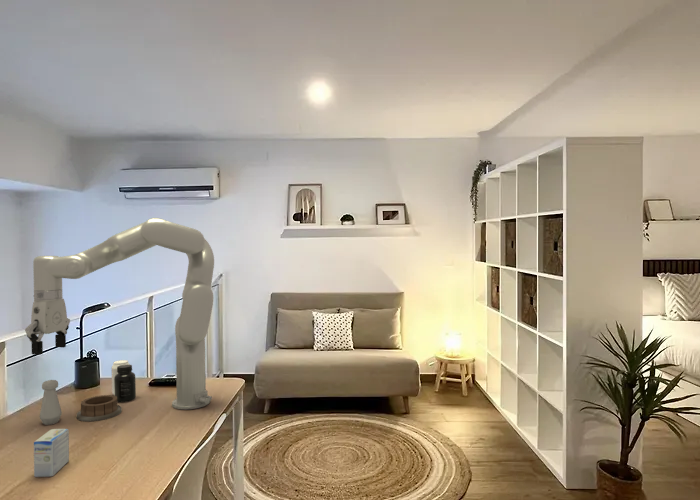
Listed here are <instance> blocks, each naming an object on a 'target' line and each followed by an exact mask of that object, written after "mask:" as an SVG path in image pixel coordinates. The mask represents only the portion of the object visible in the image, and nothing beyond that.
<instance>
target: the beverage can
mask: <svg viewBox="0 0 700 500" xmlns="http://www.w3.org/2000/svg"><path fill="white" fill-rule="evenodd" d="M121 365H131V364H130V362H129V360H127V359H121V360H120V359H119V360H116V361H114V362H113V363H112V366H111V393H112V394H111V395H113V396H115V389H114V377H115V375H116V374H118V372H117V367H118V366H121Z"/></svg>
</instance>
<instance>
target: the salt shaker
mask: <svg viewBox="0 0 700 500" xmlns="http://www.w3.org/2000/svg"><path fill="white" fill-rule="evenodd" d="M58 387H59V381H58V380H56V379H49V380H45V381H44V382H42V383H41V389H42V390H43V396H42V402H41V408H40V413H39V420H40V422H41V423H42V425H45V426H49V425H50V426H51V425H54V424H57V423H59V421H60V419H61V417H62V413H63V412H62V409H61V404H60V401H59V397H58V392H57V388H58Z"/></svg>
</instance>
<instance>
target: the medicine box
mask: <svg viewBox="0 0 700 500" xmlns="http://www.w3.org/2000/svg"><path fill="white" fill-rule="evenodd" d="M69 445H70V433H69V428H51V429H49V430H48V431H47V432H45V433H44V434H43V435H42V436H40V437H39V438H38V439H36V440H34V442H33V477H34V478H47V477H49V478H50V477H53V476H55V475H56V474H57V473H58V472H59V471H60V470H62V468H63V467H64V466H66V464H67V463H69V461H70V446H69Z"/></svg>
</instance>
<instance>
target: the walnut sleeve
mask: <svg viewBox="0 0 700 500" xmlns="http://www.w3.org/2000/svg"><path fill="white" fill-rule="evenodd" d="M122 408H123V407H122V406H121V405H118V402H117V396H115V395H114V394H103V395H96V396H92V397H91V396H90V397H88V398H86V399H83V400H81V402H80V410H79V411H78V412H77V413H76V420H78V421H80V422H88V423H89V422H99V421H105V420H108V419H112V418H115V417H116V416H119V415H120V414H122V412H123V411H122Z"/></svg>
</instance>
